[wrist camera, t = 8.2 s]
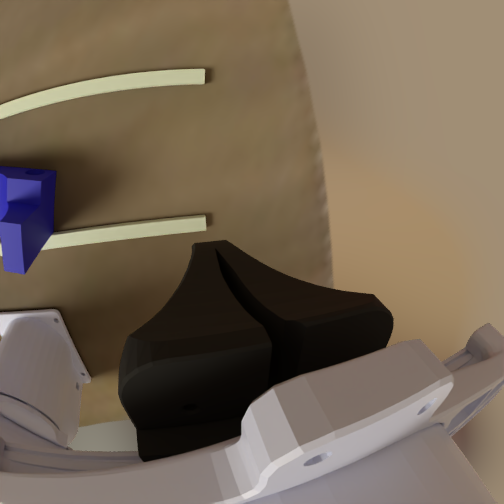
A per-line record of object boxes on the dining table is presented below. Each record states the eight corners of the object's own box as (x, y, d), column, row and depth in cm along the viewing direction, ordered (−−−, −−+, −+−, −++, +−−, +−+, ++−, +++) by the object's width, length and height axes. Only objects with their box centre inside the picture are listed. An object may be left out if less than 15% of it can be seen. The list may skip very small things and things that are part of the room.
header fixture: (205, 227, 21) (217, 262, 17) (-52, 262, 14) (-78, 293, 10) (203, 69, 16) (217, 56, 11) (-77, 142, 9) (-113, 157, 5)
